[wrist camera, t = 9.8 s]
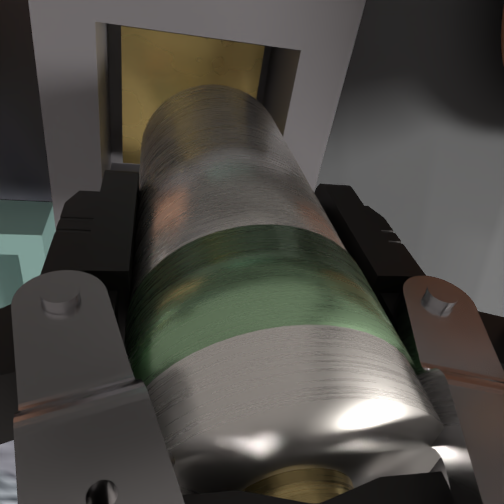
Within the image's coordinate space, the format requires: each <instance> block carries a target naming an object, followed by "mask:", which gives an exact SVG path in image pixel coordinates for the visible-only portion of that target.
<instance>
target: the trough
mask: <svg viewBox="0 0 504 504" xmlns="http://www.w3.org/2000/svg"><path fill="white" fill-rule="evenodd" d="M55 232H56V228H55V220H54V212H53V203H52V202H37V201H17V200H0V308H3V307H5V306H8V305H10V304H11V301H12V299H13V296H14V294H15V293H16V291H17V290H18V289H19V288H20V287H21V286H22V285H23V284H25V283H26V282H27V281H29V280H31V279H32V278H34V277H37V276H39V275H40V274H41V271H42V268H43V265H44V262H45V259H46V256H47V253H48V251H49V248H50V245H51V242H52V239H53V236H54V233H55Z"/></svg>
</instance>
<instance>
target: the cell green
mask: <svg viewBox="0 0 504 504" xmlns="http://www.w3.org/2000/svg"><path fill="white" fill-rule="evenodd" d="M124 347H125V350H126V353H127V356H128V359H129V363H130V366H131V369H132V372H133V375H134V377H135V379H142V381H143V382H144V384H145V386H146V388H147V391H148V394H149V396H150V399H151V402H152V405H153V409H154V412H155V415H156V418H157V421H158V424H159V427H160V430H161V433H162V436H163V439H164V442H165V445H166V448H167V451H168V454H169V457H170V460H171V463H172V466H173V469H174V472H175V475H176V478H177V481H178V484H179V488H180V491H181V494H182V495H192V494H203V493H214V492H224V491H235V490H239V491H245V492H250V493H256V494H262V495H267V496H273V497H278V498H284V499H289V500H295V501H300V502H306V503H321V502H324V501H326V500H329V499H331V498H333V497H335V496H338V495H340V494H342V493H345V492H347V491H349V490H351V489H354V488H356V487H358V486H361V485H363V484H365V483H367V482H370V481H372V480H374V479H377V478H379V477H385V476H396V475H407V474H418V473H428V472H430V470H431V469H432V468H433V467H434V465H435V464H436V463H437V461H438V460H439V459H440V458H441V456H440V454H439V453H438V452H437V450H436V449H434V448H433V447H431V445H432V444H433V442H434V441H435V440H436V438H437V437H438V435H439V434H440V433H441V431H442V430H443V429H444V425H443V423H442V421H441V420H440V418H439V416H438V414H437V412H436V410H435V408H434V406H433V404H432V402H431V400H430V398H429V397H428V395H427V393H426V391H425V389H424V388H423V386H422V384H421V382H420V381H419V379H418V377H417V375H416V374H417V369H416V367H415V364H414V362H413V360H412V359H411V357H410V355H409V353H408V352H407V350H406V348H405V346H404V345H403V343H402V341H401V339H400V338H399V336H398V334H397V332H396V331H395V329H394V327H393V325H392V324H391V322H390V320H389V318H388V317H387V315H386V313H385V311H384V309H383V308H382V306H381V304H380V302H379V301H378V299H377V297H376V295H375V294H374V292H373V290H372V288H371V287H370V285H369V283H368V281H367V280H366V278H365V276H364V274H363V273H362V271H361V269H360V268H359V266H358V265H357V263H356V261H355V260H354V259H353V258H352V257H351V255H350V254H349V253H348V252H347V250H346V249H345V247H344V245H343V243H342V241H341V240H340V238H339V236H338V234H337V232H336V231H335V229H334V227H333V225H332V224H331V222H330V220H329V218H328V216H327V215H326V213H325V211H324V209H323V208H322V206H321V204H320V202H319V200H318V199H317V197H316V195H315V193H314V191H313V190H312V188H311V186H310V184H309V183H308V181H307V179H306V177H305V175H304V174H303V172H302V170H301V168H300V166H299V165H298V163H297V161H296V159H295V158H294V156H293V154H292V152H291V150H290V149H289V147H288V145H287V143H286V142H285V140H284V138H283V136H282V134H281V133H280V131H279V129H278V127H277V125H276V124H275V122H274V120H273V118H272V117H271V115H270V114H269V112H268V111H267V110H266V108H265V107H264V106H263V105H262V104H261V103H260V102H259V101H257V100H256V99H255V98H254V97H252V96H251V95H249V94H248V93H246V92H243V91H241V90H239V89H236V88H233V87H230V86H224V85H215V84H208V85H199V86H195V87H190V88H188V89H185V90H182V91H180V92H178V93H176V94H175V95H173V96H171V97H170V98H169V99H167V100H166V101H164V102H163V103H162V104H161V105H160V106H159V107H158V108H157V109H156V111H155V112H154V113H153V115H152V116H151V118H150V119H149V121H148V123H147V125H146V128H145V130H144V133H143V137H142V142H141V156H140V170H139V200H138V213H137V225H136V238H135V250H134V263H133V275H132V288H131V300H130V303H129V307H128V311H127V315H126V326H125V339H124Z"/></svg>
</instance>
